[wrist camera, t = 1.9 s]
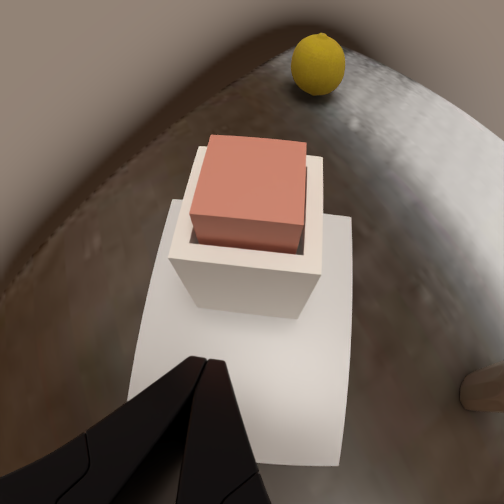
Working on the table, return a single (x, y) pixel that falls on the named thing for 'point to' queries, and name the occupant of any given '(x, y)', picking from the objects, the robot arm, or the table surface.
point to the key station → (259, 325)
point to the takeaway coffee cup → (484, 389)
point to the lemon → (318, 64)
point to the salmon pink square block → (251, 194)
